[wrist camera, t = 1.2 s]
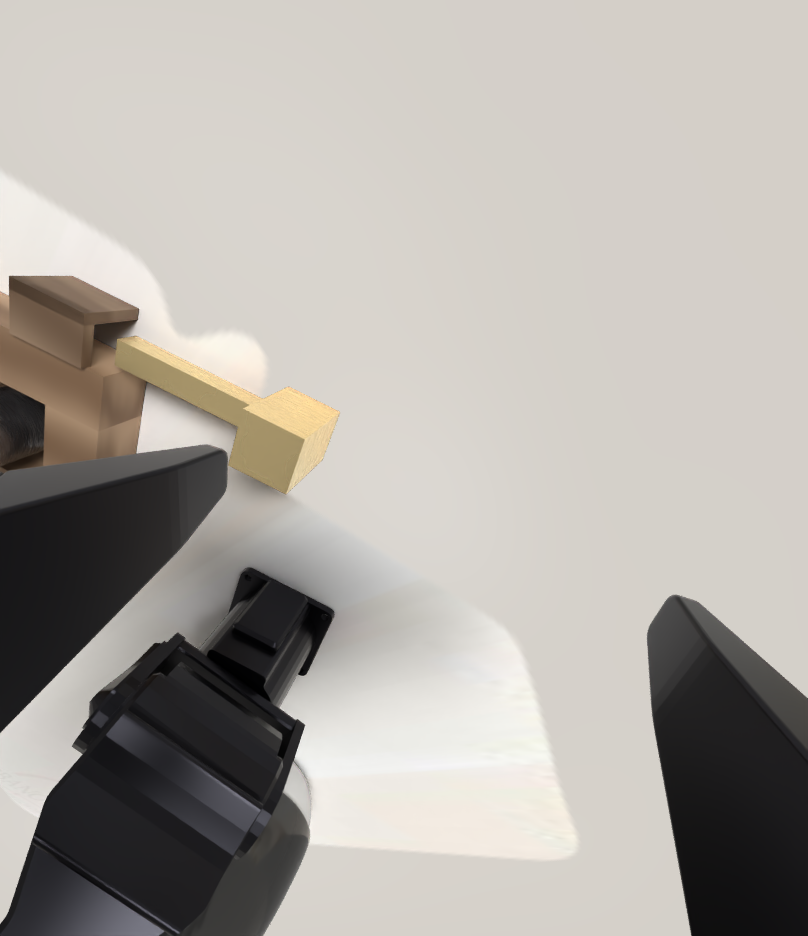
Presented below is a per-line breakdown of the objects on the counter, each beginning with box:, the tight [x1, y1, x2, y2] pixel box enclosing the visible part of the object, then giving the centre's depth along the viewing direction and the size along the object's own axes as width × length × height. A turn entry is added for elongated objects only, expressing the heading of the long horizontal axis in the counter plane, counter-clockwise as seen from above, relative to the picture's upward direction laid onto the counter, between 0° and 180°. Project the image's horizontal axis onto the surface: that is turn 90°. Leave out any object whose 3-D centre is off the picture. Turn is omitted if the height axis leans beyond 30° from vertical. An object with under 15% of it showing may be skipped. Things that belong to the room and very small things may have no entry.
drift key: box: [114, 336, 340, 494], centre depth 22 cm, size 3×11×4 cm, turn 67°
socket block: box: [0, 276, 146, 473], centre depth 25 cm, size 15×12×3 cm
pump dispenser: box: [167, 762, 311, 936], centre depth 30 cm, size 10×10×15 cm
